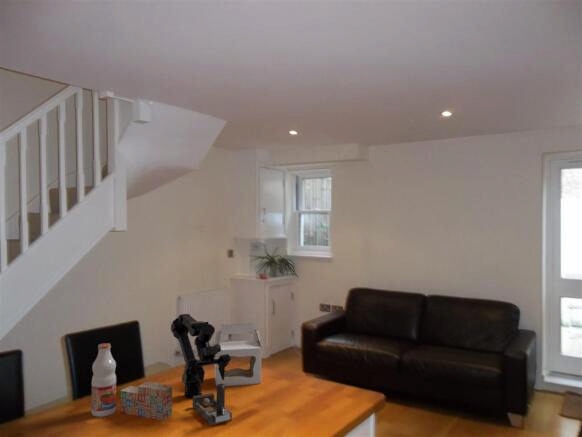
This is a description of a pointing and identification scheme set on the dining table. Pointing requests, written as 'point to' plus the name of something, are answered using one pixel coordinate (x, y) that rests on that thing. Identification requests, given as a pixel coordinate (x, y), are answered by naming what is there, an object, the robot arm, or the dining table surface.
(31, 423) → the dining table surface
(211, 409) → the press base
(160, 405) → the stack of blocks
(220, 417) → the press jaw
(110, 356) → the fruit juice
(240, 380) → the gable box
